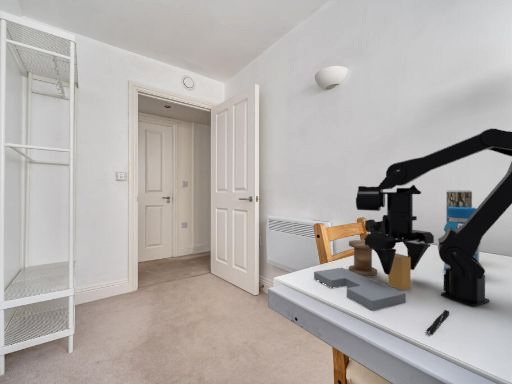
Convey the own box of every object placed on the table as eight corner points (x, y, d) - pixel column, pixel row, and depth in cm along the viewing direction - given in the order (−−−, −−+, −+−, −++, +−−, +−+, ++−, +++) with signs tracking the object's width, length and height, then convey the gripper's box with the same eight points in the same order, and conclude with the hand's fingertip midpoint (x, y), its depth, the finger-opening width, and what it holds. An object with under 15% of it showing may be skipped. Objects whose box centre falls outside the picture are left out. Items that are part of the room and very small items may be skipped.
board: (405, 302, 55) (405, 293, 55) (372, 310, 51) (372, 301, 51) (341, 274, 73) (341, 267, 73) (314, 278, 69) (314, 271, 69)
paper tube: (461, 260, 88) (462, 190, 88) (477, 265, 82) (477, 190, 82) (441, 259, 89) (442, 190, 89) (455, 265, 82) (455, 190, 82)
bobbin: (383, 274, 73) (383, 244, 73) (363, 278, 70) (363, 246, 70) (362, 266, 80) (362, 239, 80) (343, 269, 77) (343, 241, 77)
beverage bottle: (436, 272, 75) (436, 206, 75) (454, 269, 78) (454, 206, 78) (468, 281, 67) (469, 208, 67) (487, 277, 70) (487, 207, 70)
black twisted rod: (430, 338, 42) (430, 332, 42) (423, 336, 42) (423, 330, 42) (449, 315, 49) (449, 310, 49) (443, 313, 50) (443, 308, 50)
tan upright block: (410, 288, 63) (410, 257, 63) (402, 290, 61) (402, 258, 61) (396, 282, 66) (396, 253, 66) (388, 284, 65) (388, 254, 65)
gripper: (396, 208, 75) (396, 259, 75) (348, 210, 68) (348, 267, 68) (435, 211, 65) (435, 270, 65) (384, 214, 57) (384, 280, 57)
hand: (399, 271), depth 64 cm, fingers open, 9 cm apart
